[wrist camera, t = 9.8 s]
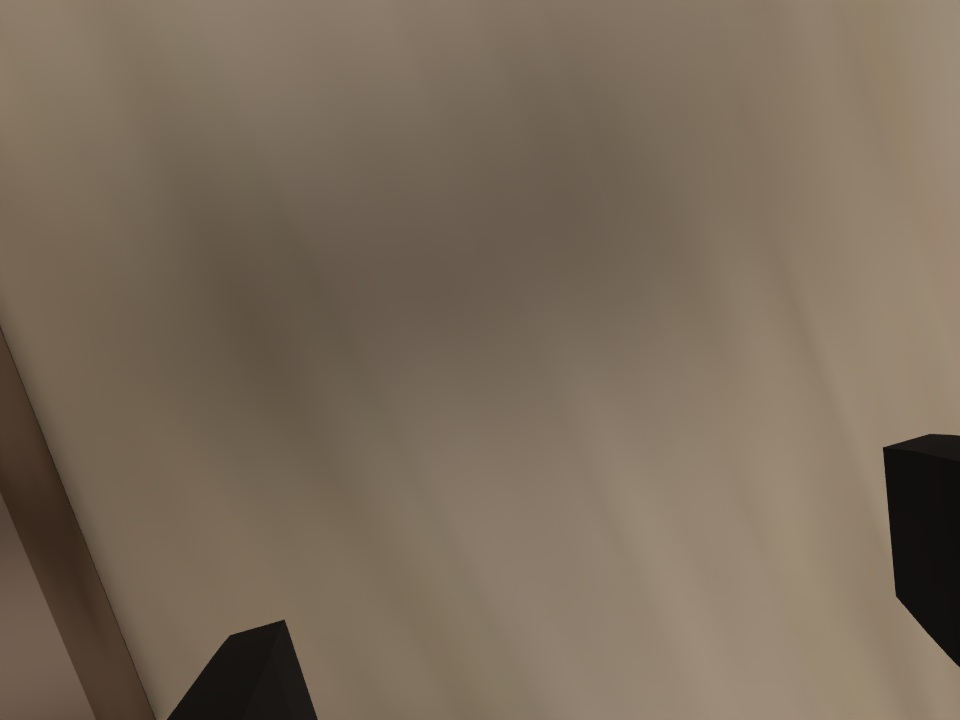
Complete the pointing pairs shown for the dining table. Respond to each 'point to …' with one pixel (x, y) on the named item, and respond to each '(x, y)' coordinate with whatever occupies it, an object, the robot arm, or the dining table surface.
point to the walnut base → (51, 589)
